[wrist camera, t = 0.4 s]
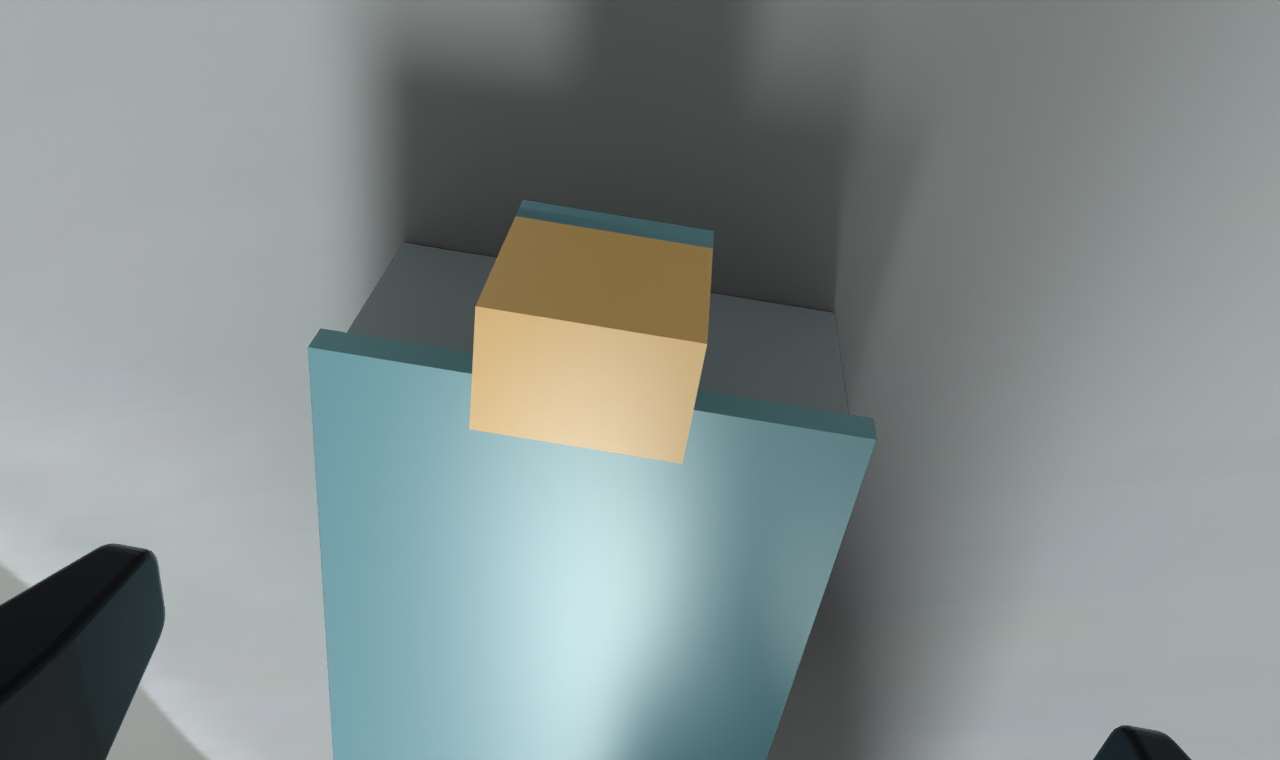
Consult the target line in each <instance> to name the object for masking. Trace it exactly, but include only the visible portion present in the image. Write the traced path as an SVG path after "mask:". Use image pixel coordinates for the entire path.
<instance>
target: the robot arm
mask: <svg viewBox="0 0 1280 760" xmlns="http://www.w3.org/2000/svg"><path fill="white" fill-rule="evenodd" d="M164 620H165V607H164V600H163V593H162V587H161V580H160V574H159V567H158V562H157V558H156V556H155V555H154V553H153V552H152V551H149V550H147V549H143V548H137V547H132V546H126V545H121V544H107V545H104V546H101V547H99V548H97V549H95V550H93V551H92V552H90V553H88V554H87V555H85V556H83V557H81V558H80V559H78V560H76V561H75V562H73V563H71V564H70V565H68V566H66V567H64V568H63V569H61V570H59V571H58V572H56V573H54V574H52V575H51V576H49V577H47V578H46V579H44V580H42V581H41V582H39V583H37V584H35V585H34V586H32V587H30V588H29V589H27V590H25V591H23V592H22V593H20V594H18V595H17V596H15V597H13V598H12V599H10V600H8V601H7V602H5V603H3V604H1V605H0V760H106V758H107V756H108V753H109V751H110V748H111V747H112V744H113V742H114V740H115V738H116V735H117V733H118V731H119V729H120V726H121V724H122V722H123V719H124V717H125V715H126V713H127V710H128V708H129V706H130V704H131V701H132V699H133V697H134V695H135V693H136V690H137V688H138V686H139V683H140V681H141V679H142V677H143V674H144V672H145V670H146V668H147V665H148V663H149V661H150V659H151V656H152V654H153V652H154V650H155V647H156V645H157V643H158V641H159V638H160V636H161V633H162V629H163V626H164ZM1093 760H1191V759H1190V758H1189V757H1188V755H1187V754H1186V753H1185V752H1184V751H1183V750H1182V749H1181V748H1180V747H1179V746H1178V745H1177V744H1176V742H1175V741H1173V740H1172V739H1171V738H1170V737H1169V736H1168V735H1166V734H1164V733H1162V732H1160V731H1156V730H1150V729H1145V728H1139V727H1134V726H1128V725H1123V726H1120V727H1118V728H1116V729H1114V730H1113V731H1112V733H1111V734H1110V735H1109V737H1108V738H1107V740H1106V741H1105V743H1104V744H1103V746H1102V747H1101V749H1100V750H1099V752H1098V753H1097V755H1096V756H1095V758H1094V759H1093Z"/></svg>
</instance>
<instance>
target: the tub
mask: <svg viewBox="0 0 1280 760" xmlns="http://www.w3.org/2000/svg"><path fill="white" fill-rule="evenodd" d="M496 259H497V258H495V257H489V256H483V255H477V254H471V253H464V252H458V251H452V250H446V249H440V248H434V247H428V246H422V245H416V244H409V243H403V244H402V245H401V247H400V249H399V250H398V252H397V253H396V255H395V257H394V258H393V260H392V261H391V263H390V265H389V266H388V268H387V269H386V271H385V273H384V274H383V276H382V277H381V279H380V280H379V282H378V284H377V285H376V287H375V288H374V290H373V292H372V293H371V295H370V296H369V298H368V300H367V301H366V303H365V304H364V306H363V308H362V309H361V311H360V312H359V314H358V316H357V317H356V319H355V320H354V322H353V324H352V325H351V327H350V328H349V330H348V331H347V333H351V334H357V335H363V336H369V337H375V338H382V339H388V340H394V341H400V342H406V343H412V344H418V345H425V346H431V347H437V348H443V349H449V350H455V351H461V352H468V353H473V345H474V325H475V306H476V304H477V302H478V299H479V297H480V295H481V293H482V290H483V288H484V286H485V284H486V281H487V279H488V277H489V275H490V272H491V270H492V268H493V266H494V263H495V261H496ZM698 390H701V391H707V392H713V393H719V394H725V395H731V396H737V397H744V398H750V399H756V400H762V401H768V402H774V403H780V404H787V405H793V406H799V407H805V408H811V409H817V410H823V411H829V412H836V413H842V414H848V415H849V410H848V403H847V396H846V389H845V382H844V375H843V368H842V361H841V354H840V347H839V340H838V333H837V326H836V319H835V313H832V312H825V311H819V310H813V309H807V308H801V307H795V306H789V305H783V304H777V303H770V302H764V301H758V300H752V299H746V298H740V297H734V296H728V295H721V294H715V293H710V308H709V324H708V340H707V348H706V353H705V357H704V362H703V367H702V372H701V377H700V382H699V386H698Z"/></svg>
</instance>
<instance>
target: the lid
mask: <svg viewBox="0 0 1280 760" xmlns="http://www.w3.org/2000/svg"><path fill="white" fill-rule="evenodd" d="M713 242H714V231H711V230H705V229H699V228H693V227H687V226H681V225H675V224H669V223H663V222H656V221H650V220H644V219H638V218H632V217H626V216H620V215H614V214H608V213H601V212H595V211H589V210H583V209H577V208H571V207H565V206H559V205H553V204H546V203H540V202H534V201H528V200H522V203H521V205H520V207H519V209H518V212H517V214H516V216H515V218H514V221H513V223H512V225H511V227H510V230H509V232H508V234H507V236H506V239H505V241H504V243H503V245H502V248H501V250H500V252H499V254H498V257H497V259H496V261H495V263H494V266H493V268H492V270H491V272H490V275H489V277H488V279H487V281H486V284H485V286H484V288H483V290H482V293H481V295H480V297H479V299H478V302H477V304H476V306H475V325H474V345H473V353H468V352H461V351H455V350H449V349H443V348H437V347H431V346H425V345H418V344H412V343H406V342H400V341H394V340H388V339H382V338H375V337H369V336H363V335H357V334H351V333H345V332H339V331H333V330H326V329H320V330H319V332H318V333H317V335H316V336H315V337H314V339H313V340H312V342H311V343H310V345H309V346H308V356H309V372H310V388H311V404H312V421H313V437H314V453H315V469H316V485H317V501H318V517H319V533H320V550H321V566H322V582H323V598H324V614H325V630H326V646H327V662H328V679H329V695H330V711H331V727H332V743H333V759H334V760H767V757H768V754H769V751H770V748H771V745H772V742H773V739H774V736H775V734H776V731H777V728H778V725H779V722H780V719H781V716H782V713H783V710H784V707H785V705H786V702H787V699H788V696H789V693H790V690H791V687H792V684H793V681H794V678H795V675H796V673H797V670H798V667H799V664H800V661H801V658H802V655H803V652H804V649H805V646H806V643H807V641H808V638H809V635H810V632H811V629H812V626H813V623H814V620H815V617H816V614H817V611H818V609H819V606H820V603H821V600H822V597H823V594H824V591H825V588H826V585H827V582H828V580H829V577H830V574H831V571H832V568H833V565H834V562H835V559H836V556H837V553H838V550H839V548H840V545H841V542H842V539H843V536H844V533H845V530H846V527H847V524H848V521H849V518H850V516H851V513H852V510H853V507H854V504H855V501H856V498H857V495H858V492H859V489H860V486H861V484H862V481H863V478H864V475H865V472H866V469H867V466H868V463H869V460H870V457H871V455H872V452H873V449H874V446H875V443H876V434H875V428H874V422H873V419H872V418H866V417H860V416H854V415H848V414H842V413H836V412H829V411H823V410H817V409H811V408H805V407H799V406H793V405H787V404H780V403H774V402H768V401H762V400H756V399H750V398H744V397H737V396H731V395H725V394H719V393H713V392H707V391H701V390H698V386H699V382H700V377H701V372H702V367H703V362H704V357H705V353H706V348H707V340H708V324H709V308H710V291H711V275H712V259H713Z"/></svg>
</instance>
